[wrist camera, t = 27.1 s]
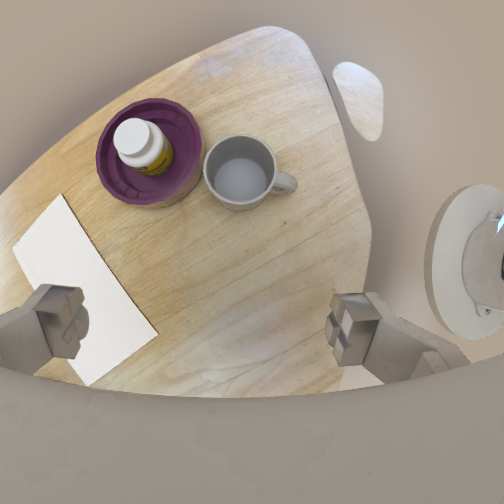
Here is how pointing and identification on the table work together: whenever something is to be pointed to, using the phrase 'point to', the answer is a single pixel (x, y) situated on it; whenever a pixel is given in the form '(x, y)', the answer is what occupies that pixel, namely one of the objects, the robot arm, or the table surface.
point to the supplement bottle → (144, 147)
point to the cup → (244, 172)
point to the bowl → (170, 183)
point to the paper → (90, 281)
